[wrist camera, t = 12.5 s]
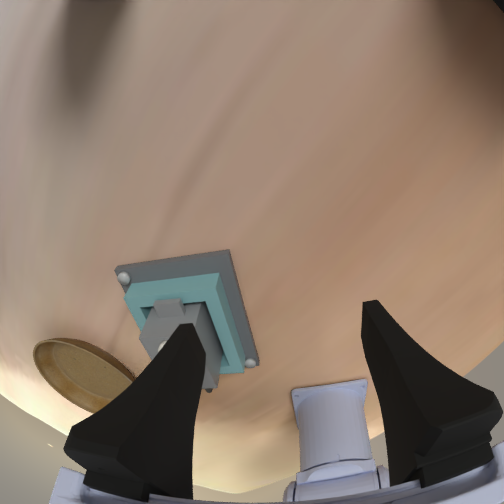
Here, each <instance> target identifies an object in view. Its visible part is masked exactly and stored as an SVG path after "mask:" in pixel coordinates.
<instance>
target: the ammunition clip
mask: <svg viewBox="0 0 504 504" xmlns="http://www.w3.org/2000/svg"><path fill="white" fill-rule="evenodd" d="M493 1H494V2H495V3H496V4H497V5H498V6H499V8H500V9H501V10H502V11H503V12H504V0H493Z"/></svg>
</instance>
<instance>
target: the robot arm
mask: <svg viewBox="0 0 504 504" xmlns="http://www.w3.org/2000/svg"><path fill="white" fill-rule="evenodd" d="M361 339H362V344H363V349H364V353H365V358H366V361H367V364H368V367H369V370H370V373H371V376H372V380H373V383H374V386H375V389H376V392H377V395H378V399H379V403H380V407H381V412H382V418H383V424H384V431H385V438H386V445H387V455H388V466H389V470H388V469H387V468H385V467H384V466H383V465H380V466H377V472H376V466H375V460H374V459H373V458H372V452H371V446H370V440H369V435H368V429H367V424H366V419H365V413H364V402H365V396H366V390H367V384H368V382H367V380H366V379H360V380H354V381H348V382H342V383H335V384H329V385H322V386H314V387H306V388H297V389H293V390H292V391H291V394H292V400H293V405H294V410H295V416H296V421H297V427H298V429H299V443H300V472H298V473H296V481H292V482H290V484H289V485H288V486H287V487H286V489H285V491H284V495H283V502H278V503H277V502H275V503H233V502H232V503H231V502H214V501H201V500H193V489H192V488H193V485H192V456H193V438H194V426H195V419H196V413H197V408H198V404H199V399H200V394H201V390H202V385H203V380H204V375H205V364H206V352H205V350H204V348H203V346H202V343H201V341H200V339H199V336H198V334H197V332H196V329H195V327H194V325H193V323H185V324H179V326H178V327H177V328H176V330H175V331H174V332H173V334H172V335H171V336H170V338H169V339H168V340H167V342H166V343H165V344H164V346H163V347H162V348H161V350H160V351H159V352H158V354H157V355H156V356H155V357H154V359H153V360H152V361H151V362H150V364H149V365H148V366H147V367H146V368H145V369H144V371H143V372H142V373H141V374H140V375H139V376H138V377H137V378H136V379H135V380H134V381H133V382H132V383H131V384H130V385H129V386H128V387H127V388H126V389H125V390H124V391H123V392H122V393H121V394H119V395H118V396H117V397H116V398H115V399H113V400H112V401H111V402H110V403H109V404H107V405H106V406H104V407H103V408H102V409H100V410H99V411H97V412H96V413H94V414H93V415H91V416H90V417H88V418H86V419H84V420H83V421H81V422H79V423H77V424H76V425H74V426H72V428H71V430H70V433H69V435H68V438H67V440H66V443H65V446H64V451H65V453H66V454H67V456H69V457H70V458H71V459H72V460H74V461H75V462H77V463H78V464H79V465H81V466H82V467H83V468H85V469H86V470H87V471H86V474H85V475H84V474H82V473H80V472H77V471H74V470H71V469H68V468H65V467H61V468H60V471H59V474H58V477H57V480H56V483H55V486H54V489H53V492H52V495H51V499H50V502H49V504H500V503H502V502H504V441H502V442H500V443H498V444H496V445H495V446H493V447H492V448H491V446H490V443H489V442H490V441H491V440H492V437H491V435H490V431H491V430H492V429H493V427H494V426H495V425H496V424H497V423H498V422H499V420H500V418H501V417H502V414H503V410H502V408H501V406H500V403H499V401H498V399H497V397H496V396H495V394H494V392H492V391H490V390H488V389H486V388H483V387H481V386H479V385H476V384H474V383H473V382H471V381H469V380H467V379H465V378H463V377H462V376H460V375H458V374H457V373H455V372H454V371H452V370H451V369H449V368H447V367H446V366H444V365H443V364H442V363H440V362H439V361H438V360H436V359H435V358H434V357H433V356H431V355H430V354H429V353H428V352H426V351H425V350H424V349H423V348H422V347H421V346H420V345H419V344H418V343H417V342H415V341H414V340H413V339H412V338H411V337H410V336H409V335H408V334H407V333H406V332H405V331H404V330H403V328H402V327H401V326H400V325H399V324H398V323H397V322H396V321H395V320H394V319H393V318H392V316H391V315H390V314H389V313H388V312H387V311H386V309H385V308H384V307H383V306H382V305H381V303H380V302H379V301H378V300H372V301H366V302H363V308H362V328H361Z"/></svg>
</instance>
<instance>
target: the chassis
mask: <svg viewBox="0 0 504 504" xmlns="http://www.w3.org/2000/svg"><path fill="white" fill-rule="evenodd" d="M114 271H115V273H116V275H117V279H118V281H119V282H120V283H121V285H122V287H123V290H124V292H125V296H124V300H125V302H126V304H127V306H128V308H129V310H130V312H131V313H132V315H133V317H134V319H135V321H136V323H137V325H138V327H139V328H140V330H141V332H142V329H143V327H144V325H145V322H146V320H147V318H148V315H149V313H150V311H151V308H152V306H153V304H154V302H155V301H156V300H166V299H176V298H181V300H182V303H192V302H202V301H206V304H207V307H208V310H209V312H210V315H211V318H212V321H213V323H214V326H215V329H216V331H217V334H218V337H219V339H220V342H221V345H222V347H223V353H222V360H221V367H220V373H219V374H229V373H244V368H245V367H247V368H254V367H255V366H258V365H259V361H260V360H259V357H258V353H257V350H256V346H255V343H254V339H253V335H252V332H251V328H250V325H249V321H248V317H247V314H246V310H245V306H244V303H243V299H242V295H241V291H240V288H239V284H238V280H237V276H236V273H235V269H234V265H233V261H232V258H231V254H230V250H222V251H215V252H208V253H202V254H195V255H188V256H181V257H174V258H168V259H161V260H154V261H148V262H141V263H134V264H128V265H121V266H117V267H116V269H115V270H114Z"/></svg>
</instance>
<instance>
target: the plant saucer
mask: <svg viewBox="0 0 504 504" xmlns="http://www.w3.org/2000/svg"><path fill="white" fill-rule="evenodd" d="M33 358H34V362H35V365H36V367H37V368H38V370H39V372H40V373H41V375H42V376H43V377H44V379H45V380H46V381H47V382H48V383H49V384H50V385H51V386H52V387H53V388H54V389H55V390H56V391H57V392H58V393H59V394H61V395H62V396H63V397H64V398H66V399H67V400H69V401H70V402H72V403H73V404H75V405H77V406H79V407H80V408H82V409H84V410H86V411H89V412H91V413H93V414H94V413H96V412H97V411H99V410H100V409H102V408H103V407H104V406H106V405H107V404H109V403H110V402H111V401H112V400H113V399H115V398H116V397H117V396H118V395H119V394H121V393H122V392H123V391H124V390H125V389H126V388H127V387H128V386H129V385H130V384H131V383H132V382H133V381H134V378H133V377H132V375H131V374H130V373H129V371H128V370H127V369H126V368H125V367H124V366H123V365H122V364H121V363H120V362H119V361H118V360H117V359H115V358H114V357H113V356H111V355H110V354H109V353H107V352H105V351H104V350H102V349H100V348H98V347H96V346H94V345H92V344H90V343H87V342H84V341H81V340H77V339H68V338H55V339H48V340H44V341H41V342H39V343H38V344H37V345H36V346H35V347H34V350H33Z"/></svg>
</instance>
